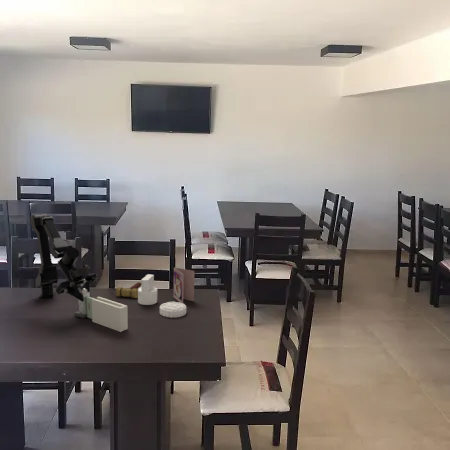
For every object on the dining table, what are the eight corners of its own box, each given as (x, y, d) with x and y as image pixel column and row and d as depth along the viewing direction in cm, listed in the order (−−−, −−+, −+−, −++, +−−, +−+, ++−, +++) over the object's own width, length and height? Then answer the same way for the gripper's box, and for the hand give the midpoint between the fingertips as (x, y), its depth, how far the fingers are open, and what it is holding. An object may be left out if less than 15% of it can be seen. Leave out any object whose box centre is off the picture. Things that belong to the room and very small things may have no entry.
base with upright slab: (153, 305, 233) (153, 281, 231) (135, 303, 235) (135, 279, 233) (159, 299, 242) (159, 275, 240) (142, 297, 244) (142, 273, 241)
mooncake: (190, 310, 230) (190, 303, 229) (179, 319, 219) (179, 312, 218) (166, 306, 234) (166, 299, 233) (154, 315, 223) (154, 307, 222)
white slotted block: (92, 321, 213) (91, 299, 211) (99, 318, 216) (98, 296, 214) (120, 331, 204) (120, 308, 202) (127, 328, 207) (127, 305, 205)
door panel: (86, 317, 217) (86, 297, 215) (89, 316, 218) (88, 296, 216) (106, 324, 210) (105, 303, 208) (108, 323, 211) (108, 302, 209)
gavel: (131, 278, 263) (150, 279, 261) (131, 286, 263) (150, 288, 262) (115, 288, 242) (135, 290, 240) (115, 297, 243) (135, 299, 241)
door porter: (74, 315, 219) (72, 288, 217) (83, 312, 223) (81, 285, 221) (83, 318, 215) (81, 290, 213) (92, 314, 219) (90, 287, 217)
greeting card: (171, 297, 245) (172, 267, 242) (185, 295, 249) (186, 265, 246) (181, 304, 236) (181, 274, 232) (195, 302, 239) (196, 272, 236)
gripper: (59, 264, 208) (77, 296, 204) (94, 255, 223) (112, 284, 219) (47, 278, 214) (65, 309, 210) (82, 268, 229) (99, 297, 225)
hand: (86, 299), depth 216 cm, fingers closed on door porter, 3 cm apart
